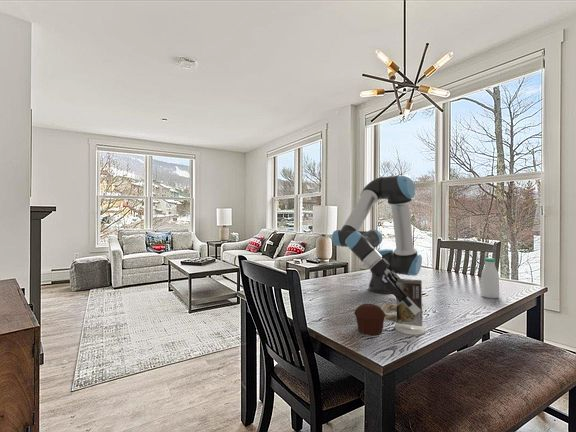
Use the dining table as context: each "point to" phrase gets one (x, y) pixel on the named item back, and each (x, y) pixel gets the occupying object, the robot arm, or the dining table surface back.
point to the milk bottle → (490, 279)
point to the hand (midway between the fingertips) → (419, 309)
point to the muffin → (369, 319)
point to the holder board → (387, 308)
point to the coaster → (410, 329)
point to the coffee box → (415, 294)
